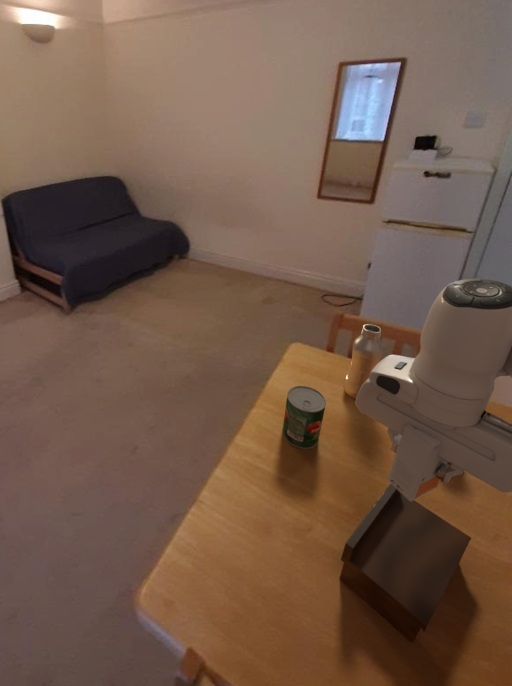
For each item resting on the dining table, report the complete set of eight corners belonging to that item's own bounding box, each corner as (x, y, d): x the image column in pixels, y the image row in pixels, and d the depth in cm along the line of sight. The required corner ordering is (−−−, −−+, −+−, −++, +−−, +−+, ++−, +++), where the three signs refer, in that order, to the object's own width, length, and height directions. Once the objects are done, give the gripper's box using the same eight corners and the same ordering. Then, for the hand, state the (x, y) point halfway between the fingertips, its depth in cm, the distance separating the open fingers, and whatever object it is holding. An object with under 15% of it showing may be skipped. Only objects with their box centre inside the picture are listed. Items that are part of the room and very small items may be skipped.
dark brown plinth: (460, 559, 67) (477, 526, 63) (416, 647, 57) (433, 614, 53) (385, 507, 76) (396, 474, 72) (336, 576, 66) (345, 542, 62)
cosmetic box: (411, 504, 59) (432, 446, 54) (385, 480, 63) (403, 424, 58) (438, 487, 62) (462, 431, 56) (412, 465, 65) (432, 410, 60)
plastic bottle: (345, 381, 107) (359, 317, 98) (373, 391, 103) (390, 326, 94) (339, 396, 102) (353, 330, 93) (368, 407, 98) (386, 339, 90)
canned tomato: (281, 418, 96) (286, 382, 91) (317, 424, 94) (324, 388, 89) (282, 445, 89) (287, 408, 84) (320, 452, 87) (328, 414, 82)
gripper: (552, 426, 49) (512, 500, 55) (378, 349, 63) (362, 415, 69) (540, 455, 45) (498, 531, 51) (359, 367, 60) (343, 434, 66)
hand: (419, 463), depth 60 cm, fingers closed on cosmetic box, 5 cm apart
